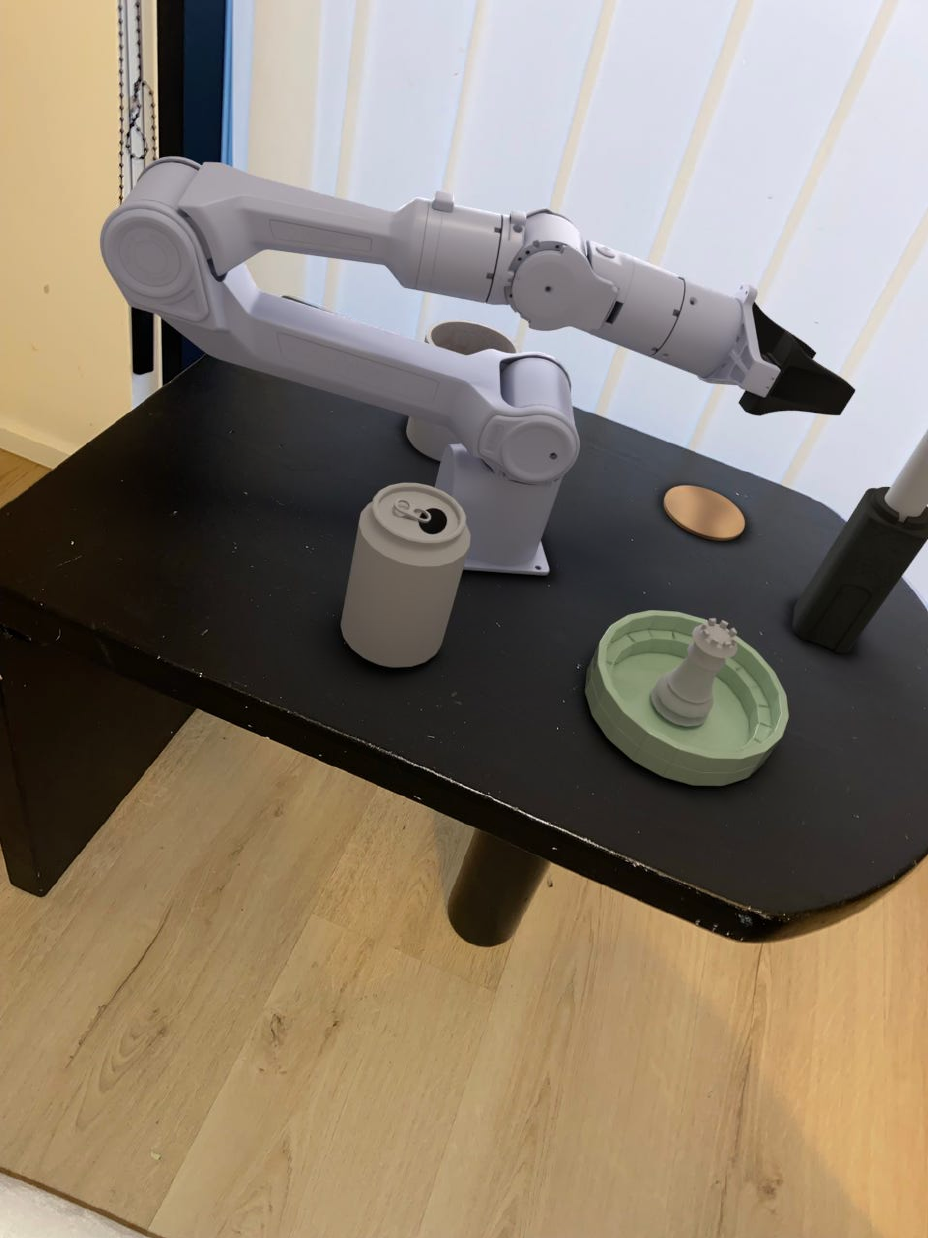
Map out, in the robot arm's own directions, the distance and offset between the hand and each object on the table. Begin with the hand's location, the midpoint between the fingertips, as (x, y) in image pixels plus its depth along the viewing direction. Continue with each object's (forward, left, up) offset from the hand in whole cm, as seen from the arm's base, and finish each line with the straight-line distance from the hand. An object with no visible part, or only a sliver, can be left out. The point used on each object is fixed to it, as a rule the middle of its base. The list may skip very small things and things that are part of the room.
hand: (826, 381), depth 70 cm
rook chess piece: (-9, -15, -20) cm, 26 cm away
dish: (-9, -15, -20) cm, 27 cm away
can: (-30, -9, -20) cm, 37 cm away
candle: (+8, -5, -20) cm, 22 cm away
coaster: (+2, +10, -20) cm, 23 cm away
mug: (-21, +20, -20) cm, 35 cm away
